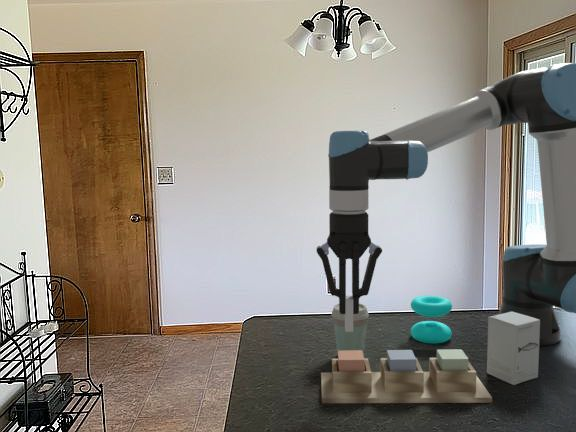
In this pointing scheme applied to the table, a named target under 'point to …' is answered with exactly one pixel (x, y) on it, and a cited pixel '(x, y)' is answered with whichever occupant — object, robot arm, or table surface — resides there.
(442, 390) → the button panel
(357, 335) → the coffee cup
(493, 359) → the supplement box
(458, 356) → the sage button
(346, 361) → the terracotta button
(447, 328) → the donuts
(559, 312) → the table surface
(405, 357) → the slate button
